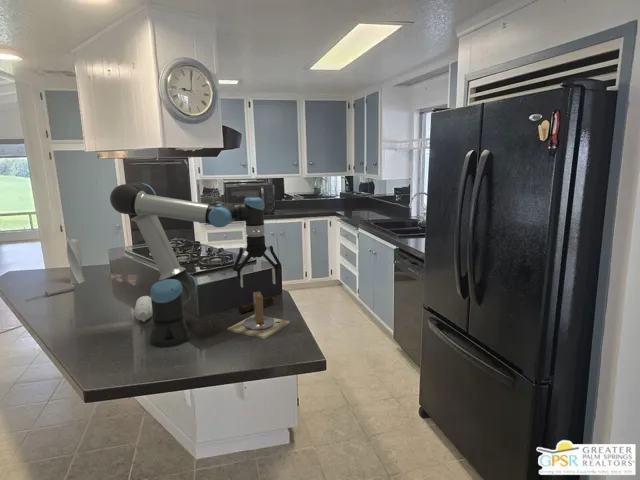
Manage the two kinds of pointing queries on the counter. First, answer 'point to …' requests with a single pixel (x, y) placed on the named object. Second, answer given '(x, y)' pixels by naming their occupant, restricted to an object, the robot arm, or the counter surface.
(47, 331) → the counter surface
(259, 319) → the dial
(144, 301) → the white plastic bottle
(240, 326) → the dial plate
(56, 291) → the screwdriver
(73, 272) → the skyscraper
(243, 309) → the hand tool
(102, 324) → the counter surface
